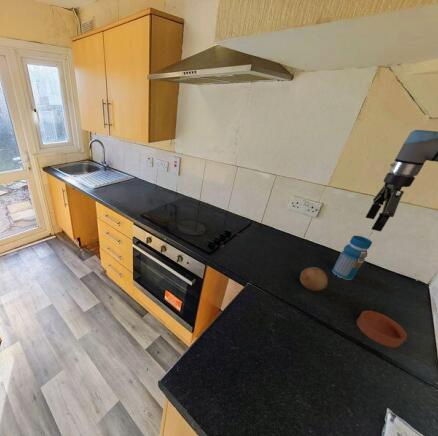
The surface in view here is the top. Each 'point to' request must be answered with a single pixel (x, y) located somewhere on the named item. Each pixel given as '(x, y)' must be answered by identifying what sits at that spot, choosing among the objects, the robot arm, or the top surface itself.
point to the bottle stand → (381, 329)
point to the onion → (314, 279)
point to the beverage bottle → (352, 257)
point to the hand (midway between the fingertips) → (372, 223)
